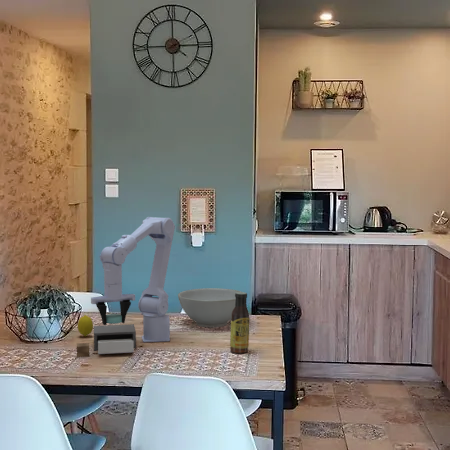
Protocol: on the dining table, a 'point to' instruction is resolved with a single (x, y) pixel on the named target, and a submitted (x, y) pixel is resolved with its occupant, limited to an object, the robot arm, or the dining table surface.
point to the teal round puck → (113, 318)
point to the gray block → (114, 333)
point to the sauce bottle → (240, 325)
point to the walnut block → (83, 350)
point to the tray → (115, 346)
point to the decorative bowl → (208, 306)
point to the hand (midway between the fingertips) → (113, 323)
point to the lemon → (85, 325)
